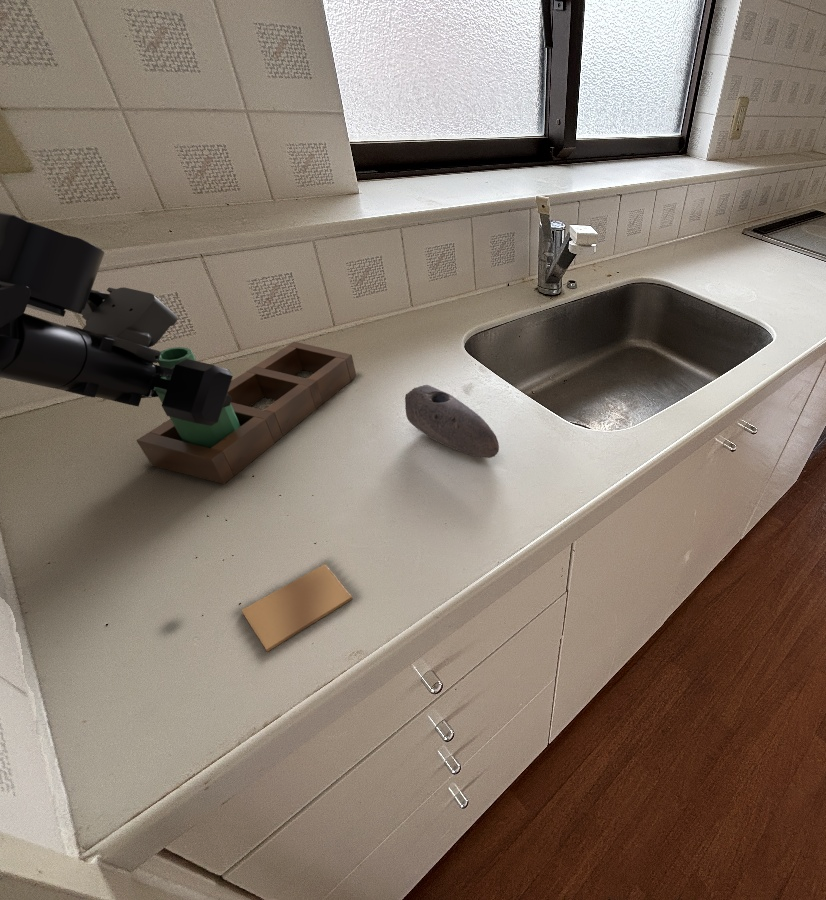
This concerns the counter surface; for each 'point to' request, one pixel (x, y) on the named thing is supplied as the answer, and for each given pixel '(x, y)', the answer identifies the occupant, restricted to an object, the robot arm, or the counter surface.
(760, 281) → the counter surface
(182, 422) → the bottle
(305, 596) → the cork trivet
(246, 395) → the brown compartment tray
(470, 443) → the perforated stone tool
